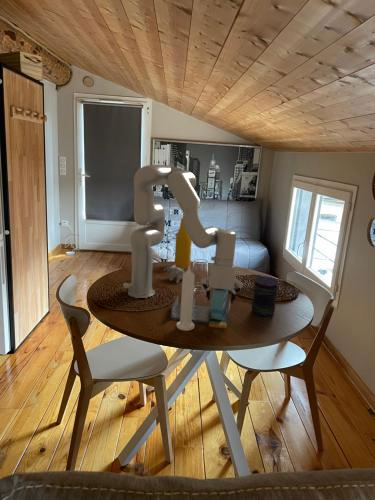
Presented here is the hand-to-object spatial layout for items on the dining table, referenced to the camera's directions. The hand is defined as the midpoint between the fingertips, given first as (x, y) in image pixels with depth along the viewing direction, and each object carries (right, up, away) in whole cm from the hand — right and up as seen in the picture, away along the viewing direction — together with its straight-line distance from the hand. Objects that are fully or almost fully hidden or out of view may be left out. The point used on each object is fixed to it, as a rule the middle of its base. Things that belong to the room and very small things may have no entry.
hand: (220, 300), depth 148 cm
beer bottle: (-17, +11, +63) cm, 66 cm away
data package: (-1, -6, +2) cm, 7 cm away
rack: (-8, -7, +2) cm, 11 cm away
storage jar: (+19, -7, +8) cm, 22 cm away
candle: (-14, -9, -8) cm, 19 cm away
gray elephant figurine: (-21, +5, +42) cm, 47 cm away
